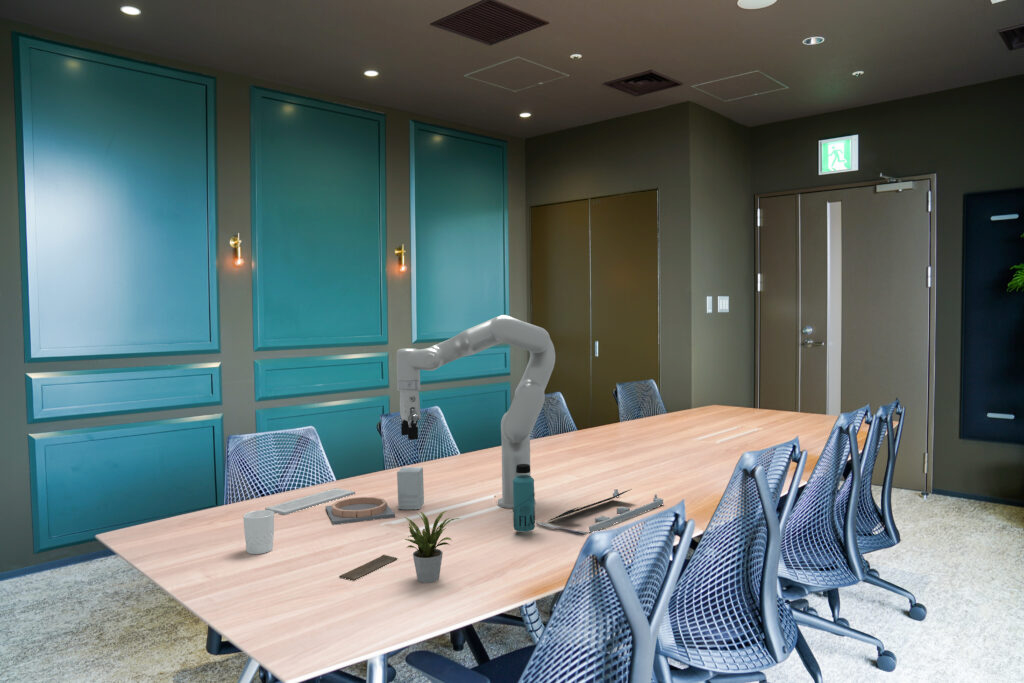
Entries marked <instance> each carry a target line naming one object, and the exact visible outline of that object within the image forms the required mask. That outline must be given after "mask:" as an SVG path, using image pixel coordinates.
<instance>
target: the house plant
mask: <svg viewBox="0 0 1024 683" xmlns="http://www.w3.org/2000/svg"><path fill="white" fill-rule="evenodd" d="M447 511H448V510H444V511H441V512H440V513H439V514H438V516H437V517H436V519H435V520H434V522H433V525H432V528H431V529H432V530H431V529H430V522H429V519H428V516H426V514H425V513H424V512H423V511H419V512H420V514H419V513H418V512H416V511H415V513H416V514H417V515H418V516H419V517H420V519H421V520H422V522H423V524H424V528H423V529H422V532H421V531H420V529H419V526H418V525H417V524H416V523H415V522H414V521H413V520H411V518H408V517H406V516H404V519H407V521H408V522H409V523H408V529H409V532H410V534H411V535H408V536H407V538H404V540H406V541H408V542H409V543H410V542H411V543H412V544H415V545H416V546H417V547H418V548H417V547H415V546H414V545H412V544H411V545H408V546H406V548H405V549H407V548H412V549H413V548H414V549H416V550H415V551H414V552H413V553H412V557H413V564H414V568H415V574H416V579H417V581H418V582H419V583H423V584H430V583H435V582H437V581H439V579H440V576H441V567H442V561H443V550H441V549H440V548H438V547H439V546H445V545H448V546H451V545H450V543H449V542H443V541H447V540H448V541H451V542H453V539H452V538H450V537H449V536H447V537H444V538H442V539H441V540H439V538H440V536H441V535H442V533H443V532H444V531H445V530H446V529H447V528H446V527H445V526H446V525H448V524H449V523H450V522H452V521H454V520H460V519H461V517H456V518H450V517H448V518H447V517H446V518H445V519H444V520H443V521H442V522H441V523H440V520H441V519H443V515H444V514H445V513H447ZM449 519H450V520H449ZM439 523H440V524H439ZM438 524H439V526H438ZM401 526H404V527H405V525H401ZM437 526H438V527H437ZM444 527H445V528H444ZM410 537H411V538H413V539H411V538H410Z"/></svg>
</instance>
